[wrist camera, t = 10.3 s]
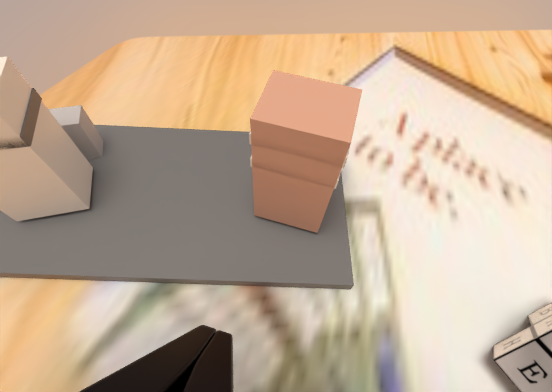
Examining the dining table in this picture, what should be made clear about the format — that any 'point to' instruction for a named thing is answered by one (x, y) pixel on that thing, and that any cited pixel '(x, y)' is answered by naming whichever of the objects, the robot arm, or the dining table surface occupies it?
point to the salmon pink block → (300, 147)
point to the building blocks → (529, 354)
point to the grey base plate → (173, 217)
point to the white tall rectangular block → (36, 155)
